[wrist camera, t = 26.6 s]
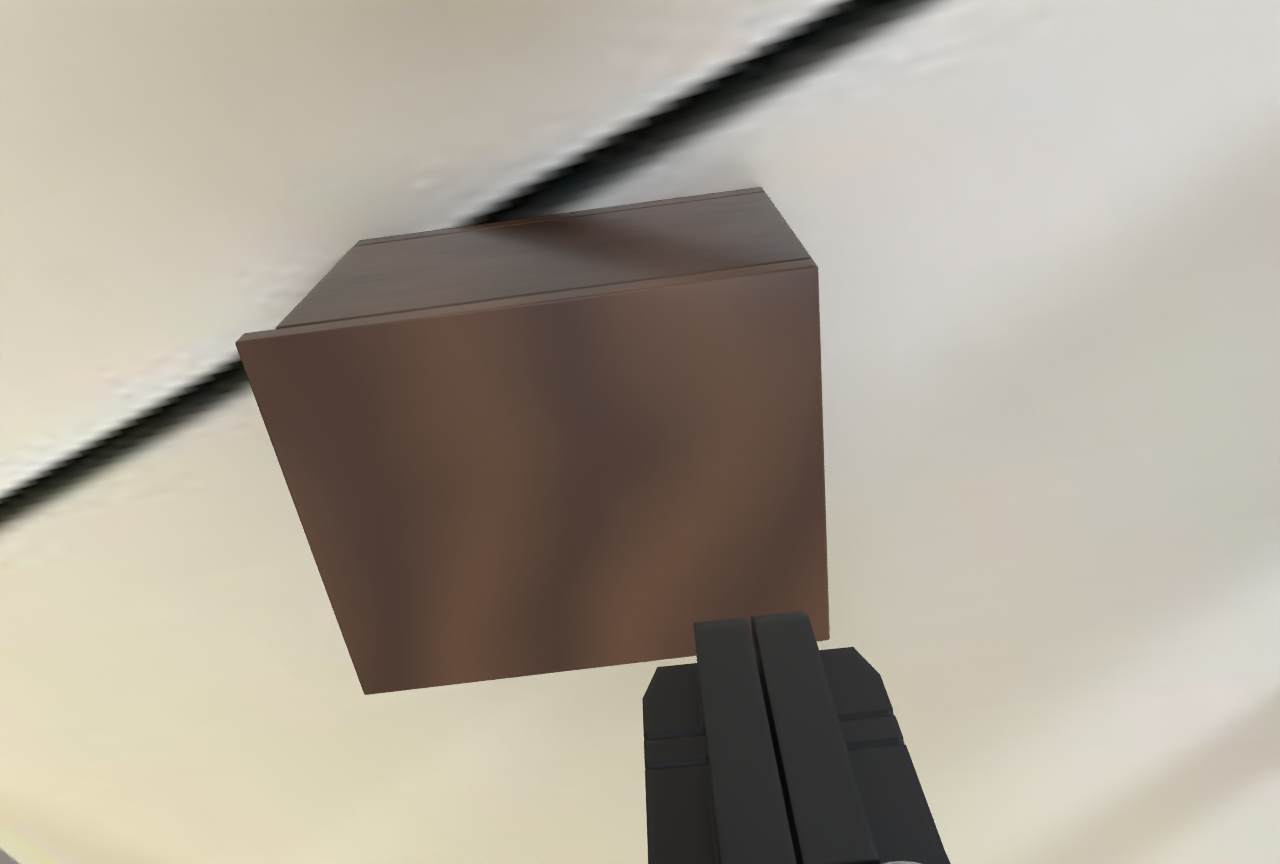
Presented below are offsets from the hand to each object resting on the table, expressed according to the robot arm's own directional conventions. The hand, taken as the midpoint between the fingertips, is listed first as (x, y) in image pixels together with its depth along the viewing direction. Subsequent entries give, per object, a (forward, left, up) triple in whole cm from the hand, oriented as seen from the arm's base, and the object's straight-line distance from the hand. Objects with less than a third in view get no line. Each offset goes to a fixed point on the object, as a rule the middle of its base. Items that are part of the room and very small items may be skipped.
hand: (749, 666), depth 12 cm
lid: (+5, -4, -14) cm, 15 cm away
